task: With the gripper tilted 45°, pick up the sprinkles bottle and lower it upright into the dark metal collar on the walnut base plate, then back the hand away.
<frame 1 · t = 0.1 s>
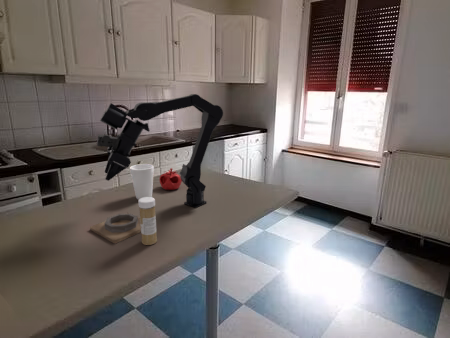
hand: (106, 176, 98), 15 cm above the table, tool tilted 35°, fingers open, 9 cm apart
collar plate: (122, 228, 93), on the table
foam cup: (144, 197, 121), on the table
sprinkles bottle: (149, 242, 85), on the table
pomegranate: (171, 188, 132), on the table
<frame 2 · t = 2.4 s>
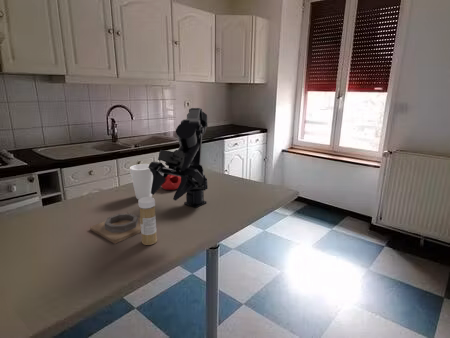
hand: (162, 196, 87), 12 cm above the table, tool tilted 45°, fingers open, 9 cm apart
nothing on the table moved.
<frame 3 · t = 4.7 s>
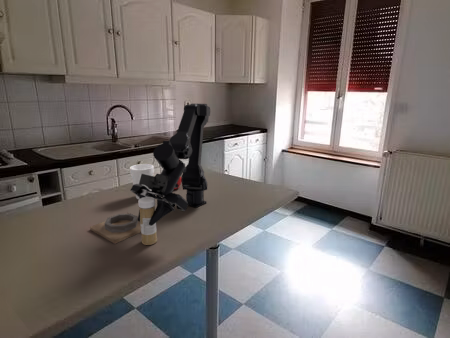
hand: (144, 223, 82), 7 cm above the table, tool tilted 45°, fingers closed on sprinkles bottle, 4 cm apart
sprinkles bottle: (149, 242, 85), on the table, touching gripper
everything else where it was.
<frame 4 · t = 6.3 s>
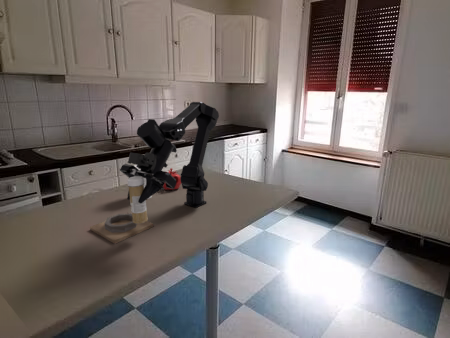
hand: (134, 201, 84), 12 cm above the table, tool tilted 45°, fingers closed on sprinkles bottle, 4 cm apart
sprinkles bottle: (140, 221, 86), point 5 cm above the table, touching gripper
everything else where it was.
when the fingers open (8 cm above the table, at t = 8.2 s): sprinkles bottle stays where it is, resting on collar plate.
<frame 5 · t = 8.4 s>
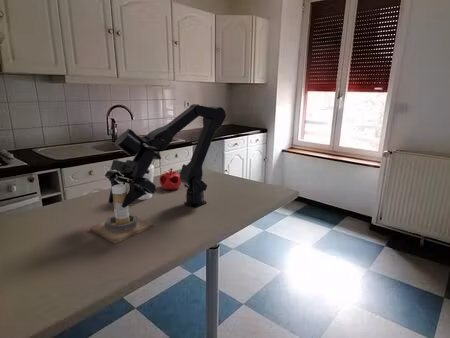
hand: (116, 205, 90), 9 cm above the table, tool tilted 45°, fingers open, 6 cm apart
sprinkles bottle: (123, 226, 93), point 1 cm above the table, touching collar plate
everything else where it was.
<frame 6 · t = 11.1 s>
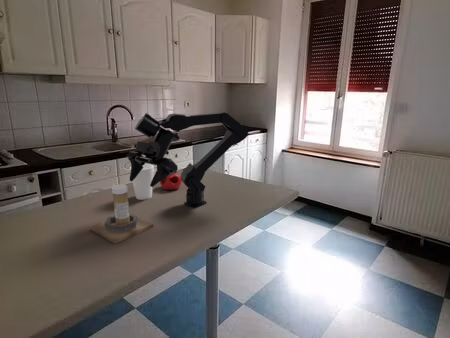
hand: (140, 183, 96), 13 cm above the table, tool tilted 40°, fingers open, 9 cm apart
nothing on the table moved.
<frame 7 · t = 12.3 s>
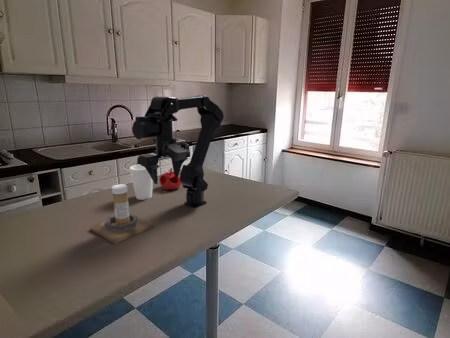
hand: (166, 180, 100), 13 cm above the table, tool pointing down, fingers open, 9 cm apart
nothing on the table moved.
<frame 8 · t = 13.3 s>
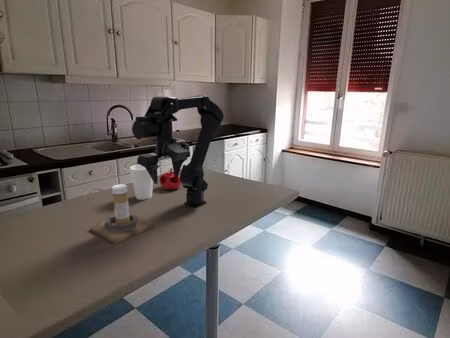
hand: (166, 180, 100), 13 cm above the table, tool pointing down, fingers open, 9 cm apart
nothing on the table moved.
at the end: sprinkles bottle 0.5 cm off-centre on the collar plate, point 0.8 cm above the collar plate's base; sprinkles bottle tilted 0°; the gripper is holding nothing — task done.
